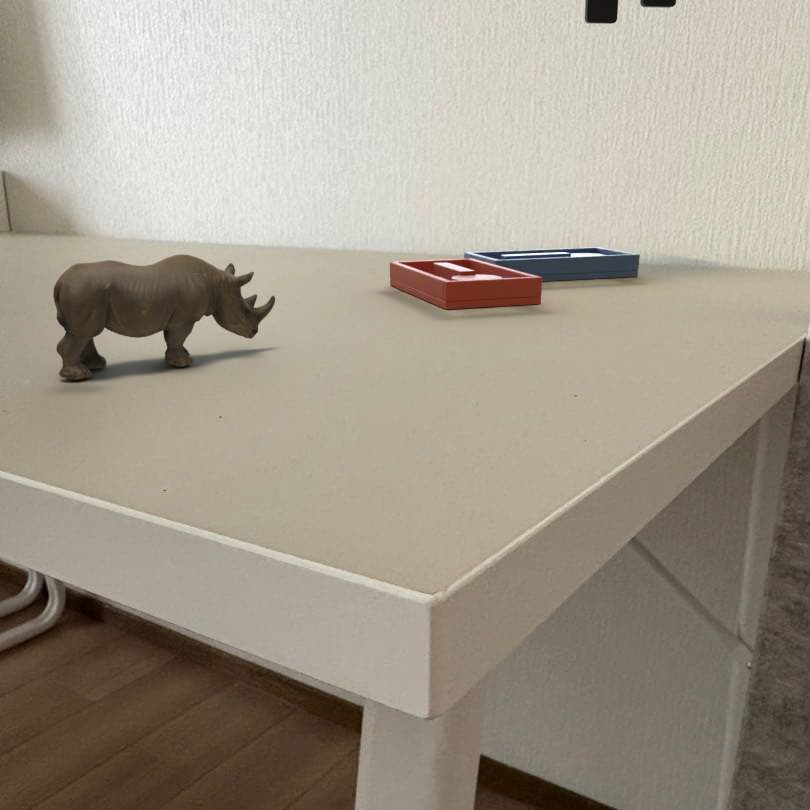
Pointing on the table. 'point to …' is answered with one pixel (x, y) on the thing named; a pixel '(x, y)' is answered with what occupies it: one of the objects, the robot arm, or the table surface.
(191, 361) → the rhino figurine
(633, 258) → the blue tray
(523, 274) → the red tray
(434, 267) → the red spoon
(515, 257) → the blue spoon
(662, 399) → the table surface
